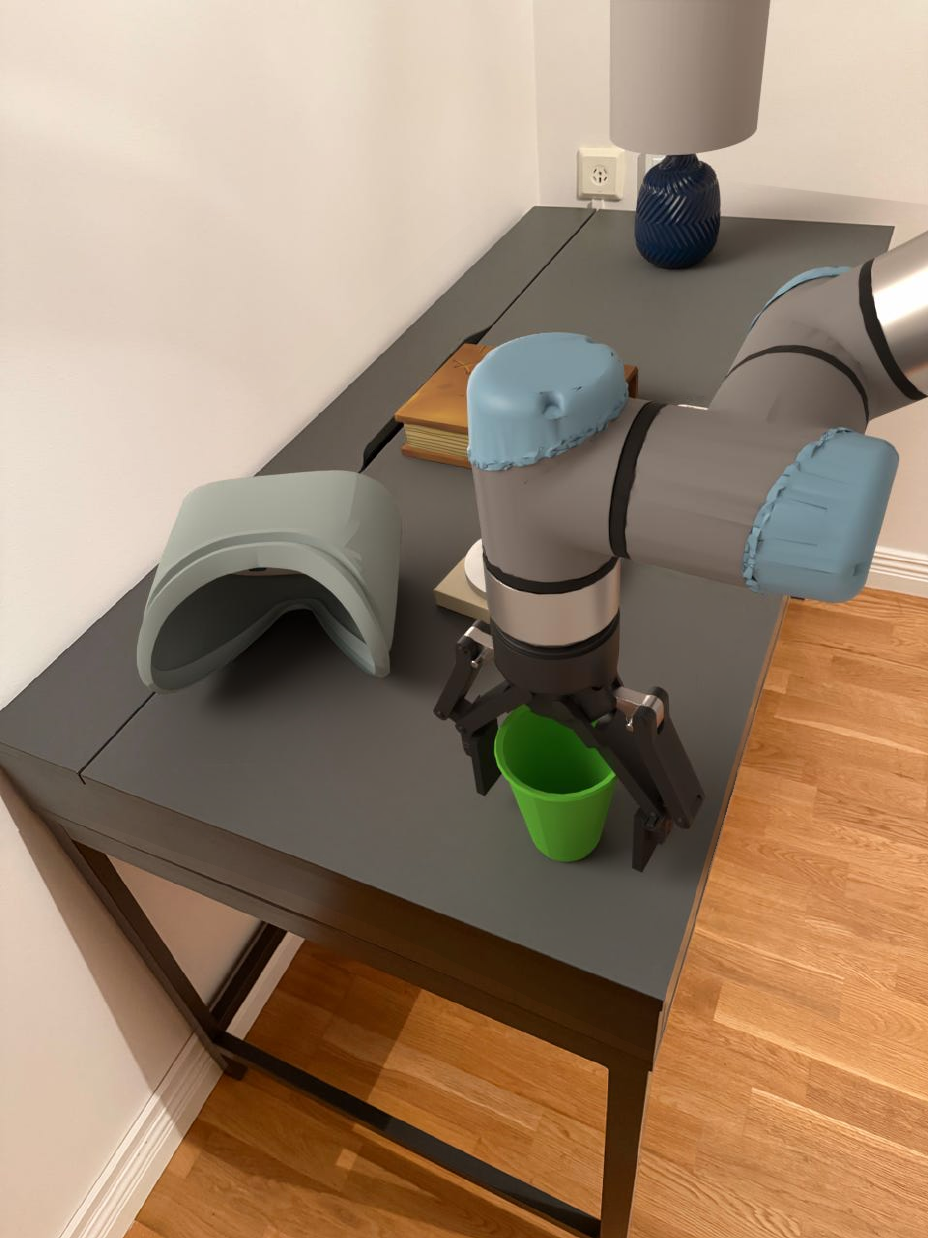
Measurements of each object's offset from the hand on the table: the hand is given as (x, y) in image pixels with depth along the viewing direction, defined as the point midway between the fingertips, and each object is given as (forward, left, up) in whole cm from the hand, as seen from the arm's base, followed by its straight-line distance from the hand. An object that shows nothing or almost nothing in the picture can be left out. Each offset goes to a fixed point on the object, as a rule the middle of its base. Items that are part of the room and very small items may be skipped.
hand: (564, 817), depth 66 cm
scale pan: (+17, -23, 0) cm, 29 cm away
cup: (0, 0, -2) cm, 2 cm away
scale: (+17, -23, -2) cm, 29 cm away
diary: (+32, -47, -2) cm, 57 cm away
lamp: (+35, -99, -2) cm, 105 cm away
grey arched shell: (+33, -6, -2) cm, 34 cm away
